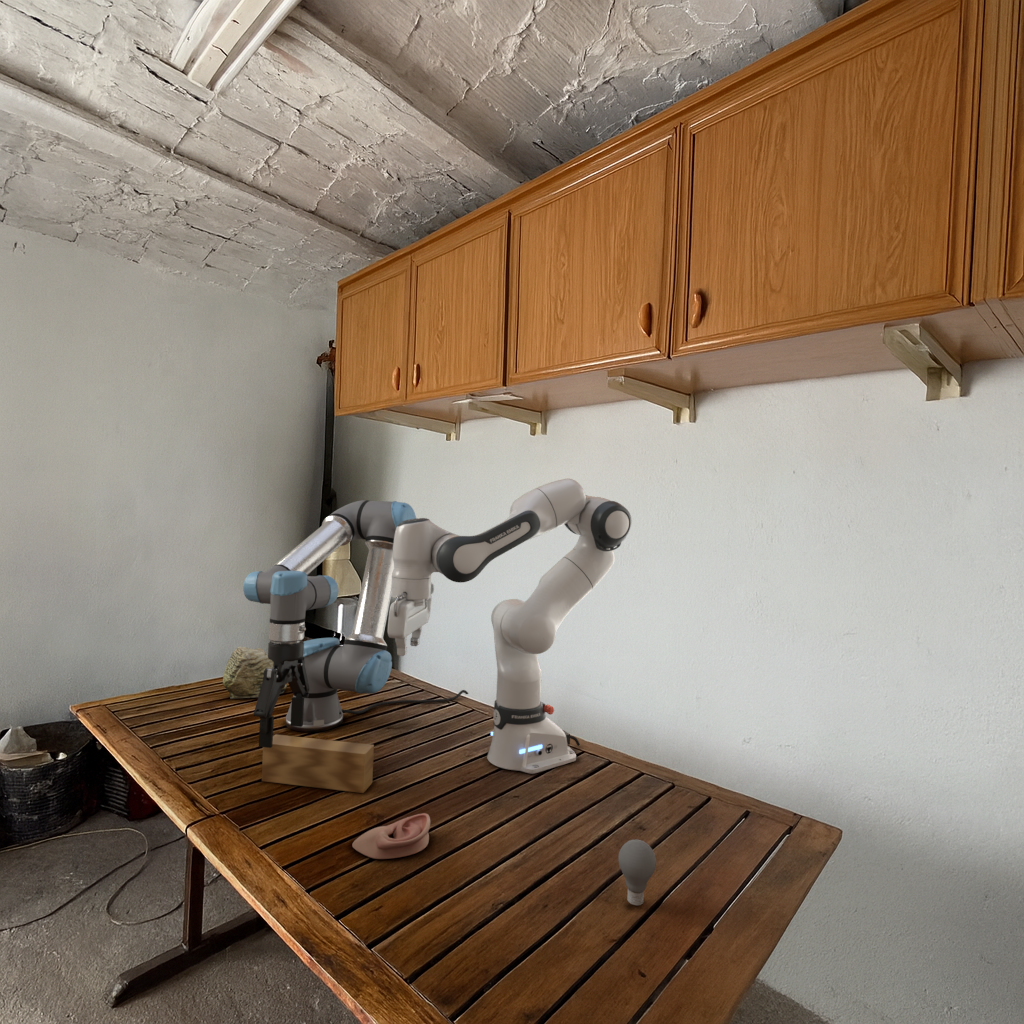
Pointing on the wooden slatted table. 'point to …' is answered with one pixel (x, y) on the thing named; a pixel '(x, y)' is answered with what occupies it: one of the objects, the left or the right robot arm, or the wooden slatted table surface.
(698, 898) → the wooden slatted table surface
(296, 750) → the bar
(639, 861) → the light bulb
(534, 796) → the wooden slatted table surface
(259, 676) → the fossil
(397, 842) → the anatomical model
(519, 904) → the wooden slatted table surface
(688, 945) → the wooden slatted table surface
